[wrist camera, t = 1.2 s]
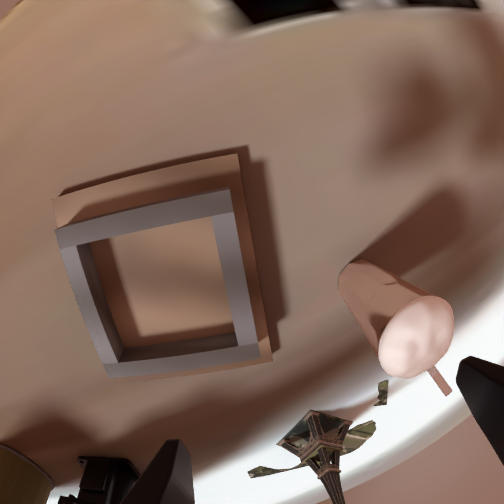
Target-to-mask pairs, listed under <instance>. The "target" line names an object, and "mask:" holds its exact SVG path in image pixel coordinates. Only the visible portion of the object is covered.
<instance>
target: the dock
mask: <svg viewBox="0 0 504 504" xmlns="http://www.w3.org/2000/svg"><path fill="white" fill-rule="evenodd" d="M51 200H52V204H53V209H54V213H55V217H56V221H57V225H58V228H57V229H55V234H56V237H57V241H58V245H59V248H60V252H61V255H62V259H63V262H64V265H65V268H66V271H67V275H68V278H69V281H70V284H71V287H72V290H73V292H74V295H75V298H76V301H77V304H78V306H79V309H80V312H81V314H82V317H83V319H84V322H85V324H86V327H87V329H88V332H89V334H90V337H91V339H92V341H93V344H94V346H95V348H96V350H97V353H98V355H99V357H100V359H101V361H102V364H103V366H104V368H105V370H106V372H107V374H108V376H109V378H113V379H114V381H115V383H118V382H131V381H142V380H153V379H162V378H171V377H179V376H187V375H195V374H202V373H208V372H215V371H221V370H227V369H233V368H239V367H245V366H250V365H256V364H261V363H266V362H271V361H273V359H272V353H271V347H270V341H269V335H268V330H267V324H266V318H265V312H264V306H263V300H262V294H261V288H260V283H259V277H258V271H257V265H256V259H255V253H254V248H253V242H252V236H251V230H250V224H249V218H248V213H247V207H246V201H245V195H244V189H243V184H242V178H241V172H240V166H239V161H238V155H237V153H236V154H231V155H225V156H219V157H214V158H209V159H204V160H199V161H194V162H189V163H184V164H179V165H175V166H170V167H166V168H161V169H157V170H153V171H149V172H145V173H141V174H137V175H133V176H129V177H125V178H121V179H117V180H114V181H110V182H106V183H103V184H99V185H96V186H92V187H89V188H85V189H82V190H79V191H75V192H72V193H69V194H66V195H63V196H59V197H56V198H53V199H51Z"/></svg>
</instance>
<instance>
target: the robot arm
mask: <svg viewBox="0 0 504 504" xmlns="http://www.w3.org/2000/svg"><path fill="white" fill-rule="evenodd" d="M456 383H457V386H458V388H459V389H460V391H461V393H462V395H463V397H464V399H465V401H466V403H467V405H468V407H469V409H470V411H471V413H472V415H473V417H474V418H475V420H476V422H477V423H478V425H479V426H480V428H481V429H482V431H483V432H484V434H485V436H486V437H487V439H488V440H489V442H490V444H491V445H492V447H493V449H494V450H495V452H496V454H497V455H498V457H499V459H500V460H501V462H502V464H503V465H504V366H501V365H498V364H495V363H491V362H488V361H485V360H482V359H479V358H476V357H473V356H469V357H467V358H465V359H463V360H461V362H460V364H459V368H458V372H457V376H456ZM77 461H78V462H79V463H80V465H81V466H82V467H83V468H84V473H83V476H82V479H81V482H80V485H79V487H80V490H79V494H78V497H77V498H75V496H73V495H71V494H70V495H69V496H68V497H65V496H60V498H59V501H58V504H195V500H194V489H193V478H192V467H191V458H190V455H189V453H188V451H187V449H186V448H185V446H184V444H183V442H182V441H181V440H180V439H169V440H167V441H165V443H164V444H163V445H162V447H161V448H160V450H159V451H158V452H157V454H156V455H155V457H154V458H153V459H152V461H151V462H150V464H149V465H148V466H147V468H146V469H145V471H144V472H143V473H142V475H141V476H140V474H139V473H138V472H137V470H136V469H135V468H134V466H133V465H132V464H131V462H130V461H129V460H126V459H110V458H93V457H78V459H77Z"/></svg>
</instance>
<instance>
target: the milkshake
mask: <svg viewBox="0 0 504 504" xmlns="http://www.w3.org/2000/svg"><path fill="white" fill-rule="evenodd" d="M337 290H338V291H339V293H340V295H341V296H342V298H343V300H344V302H345V303H346V305H347V306H348V308H349V309H350V311H351V313H352V314H353V316H354V317H355V319H356V320H357V322H358V324H359V325H360V327H361V328H362V330H363V332H364V334H365V336H366V338H367V340H368V342H369V344H370V345H371V347H372V349H373V351H374V353H375V355H376V356H377V358H378V360H379V362H380V364H381V366H382V367H383V369H384V370H385V372H386V373H387V374H389V375H390V376H393V377H400V378H412V377H415V376H418V375H419V374H421V373H423V372H425V371H426V370H427V371H428V372H429V374H430V375H431V377H432V378H433V379H434V381H435V382H436V384H437V385H438V386H439V388H440V389H441V391H442V392H443V393H444V395H445V396H447V395H448V394H450V393H451V392H452V389H451V388H450V387H449V385H448V384H447V382H446V381H445V380H444V378H443V377H442V375H441V374H440V373H439V371H438V370H437V369H436V367H435V366H434V365H435V364H436V363H437V362H438V361H439V360H440V359H441V358H442V357H443V356H444V355H445V354H446V352H447V351H448V349H449V347H450V344H451V341H452V338H453V334H454V316H453V311H452V308H451V306H450V305H449V303H448V302H447V301H445V300H444V299H442V298H440V297H438V296H436V295H434V294H432V293H430V292H428V291H426V290H424V289H422V288H420V287H417V286H415V285H413V284H411V283H409V282H407V281H405V280H403V279H401V278H399V277H398V276H396V275H394V274H392V273H390V272H388V271H387V270H385V269H383V268H381V267H379V266H377V265H375V264H373V263H371V262H368V261H366V260H363V259H361V260H358V261H355V262H352V263H349V264H348V265H347V266H346V267H345V269H344V270H343V271H342V272H341V273H340V275H339V280H338V287H337Z"/></svg>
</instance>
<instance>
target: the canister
mask: <svg viewBox="0 0 504 504" xmlns="http://www.w3.org/2000/svg"><path fill="white" fill-rule="evenodd" d="M53 488H54V485H53V483H52V481H51V479H50V478H49V476H48V475H47V474H46V473H45V472H44V471H43V470H42V469H41V468H40V467H39V466H38V465H36V464H35V463H33V462H32V461H31V460H29V459H28V458H27V457H25V456H23V455H22V454H20V453H18V452H17V451H15V450H13V449H11V448H9V447H7V446H5V445H1V444H0V504H46V503H47V500H48V497H49V494H50V491H52V490H53Z"/></svg>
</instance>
